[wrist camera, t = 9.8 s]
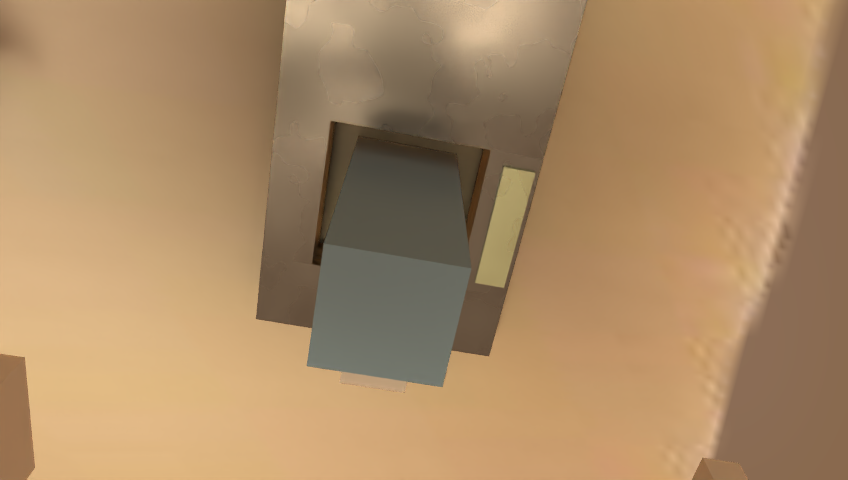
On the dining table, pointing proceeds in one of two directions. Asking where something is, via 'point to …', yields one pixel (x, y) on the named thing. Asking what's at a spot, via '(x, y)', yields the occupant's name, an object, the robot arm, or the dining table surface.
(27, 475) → the robot arm
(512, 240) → the panel
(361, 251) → the plug
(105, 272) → the dining table surface
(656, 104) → the dining table surface
